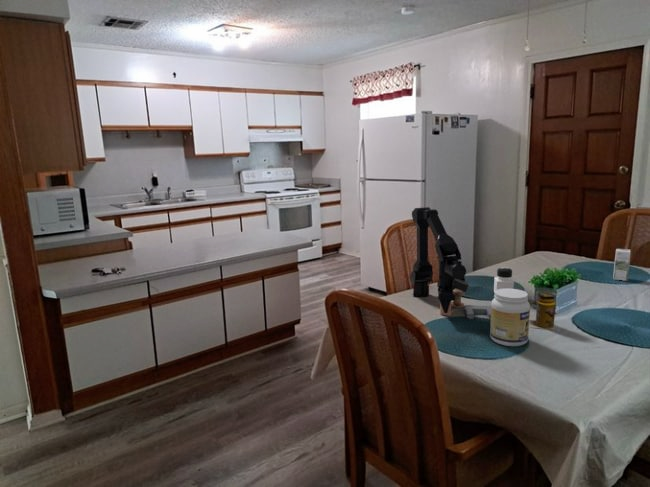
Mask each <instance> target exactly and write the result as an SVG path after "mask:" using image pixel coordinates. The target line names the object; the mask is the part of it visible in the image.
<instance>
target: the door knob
mask: <svg viewBox="0 0 650 487" xmlns="http://www.w3.org/2000/svg"><path fill="white" fill-rule="evenodd" d="M453 291H454V292H455V300H454V301H451V309H463V308H464V309H465V303H464V302H462V296H464V295H465V293H466V292H463V291H461V290H459V289H456V288H455V290H453Z"/></svg>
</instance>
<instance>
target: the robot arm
mask: <svg viewBox="0 0 650 487" xmlns="http://www.w3.org/2000/svg"><path fill="white" fill-rule="evenodd" d="M411 218H412V222H413V224H414V226H415V227H416V261H415V262H414V264H413V266H412V271H411V273H410V275H409V282H410V283H412V284H413V286H412V287H413V288H412V290H413V291H412V297H418V298H420V297H422V298H425V297H426V298H427V297H429V294H430V283H432V281H433V277H434V276H433V275H434V271H433V265H432V264H431V263H430V261H429V228H430V230H431V232H432V236H433V237H434V239H435V245H434V248H435V251H436V254H437V258H436V259H437V260H438V280H437V281H436V283H437V284H436V285H437V298H438V301H439V304H440V303H441V306H442V308H443V311H444V313H447V312H448V308H449V305H450V302H453V301H454V300H455V292H454V291H453V290H455V289H459V290H461V291H463V292H465V293H466V292H467V290H468V288H469V286H470V284H469V282H468V281H467V280H466V279H465V276H466V274H467V269H466V267H465V265H463V264H462V262H463V261H461V260H462V254H461V252H460V249H459V246H458V244H457V243H456V241H455V239H454V238H453V237H452V236H450V235H449V234H448V233H447V231H446V229H445V227H444V225H443V222H442V220H441V219H440V218H441V217H440V216H439V211H438V209H435V208H434V209H432V208H430V207H429V206H428V207H427V206H426V207H416V208H415V207H414V209H413V210H412V211H411Z"/></svg>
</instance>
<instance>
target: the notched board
mask: <svg viewBox="0 0 650 487" xmlns="http://www.w3.org/2000/svg"><path fill="white" fill-rule="evenodd" d="M464 310H465V315H466V319H467V318H469V319H468V320H474V318H475V317H474V314H478V315H480V314H482V315H486V316H487V319H488V320H489V321H491V305H480V304H479V305H476V304H475V305H473V304H464Z"/></svg>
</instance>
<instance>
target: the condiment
mask: <svg viewBox="0 0 650 487" xmlns="http://www.w3.org/2000/svg"><path fill="white" fill-rule="evenodd" d="M555 298H556V296H555V294H553V293H552V292H540V293H539V294H538V299H537V301H536V311H535V312H536V313H535V320H533V319H529V327H530V329H531V328H532V329H542V330H554V331H556V330H557V327H556V325H555V315H556V301H555Z"/></svg>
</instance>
